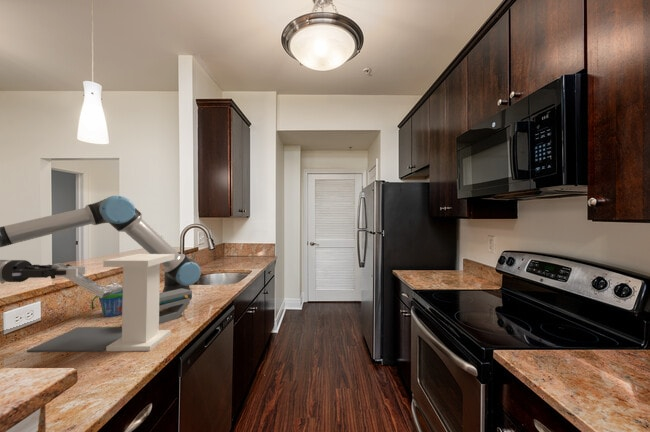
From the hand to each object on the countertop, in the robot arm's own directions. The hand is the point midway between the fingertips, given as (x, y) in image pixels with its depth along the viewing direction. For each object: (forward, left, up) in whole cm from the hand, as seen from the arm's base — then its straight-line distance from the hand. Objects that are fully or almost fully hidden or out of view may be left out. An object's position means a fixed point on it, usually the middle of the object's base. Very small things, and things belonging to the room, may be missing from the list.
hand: (81, 271), depth 100 cm
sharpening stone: (-27, +3, -25) cm, 37 cm away
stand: (-11, +18, -25) cm, 32 cm away
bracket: (-3, -2, -4) cm, 5 cm away
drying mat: (-3, -1, -25) cm, 25 cm away
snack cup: (-22, -23, -25) cm, 41 cm away
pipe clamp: (-37, -3, -25) cm, 45 cm away
